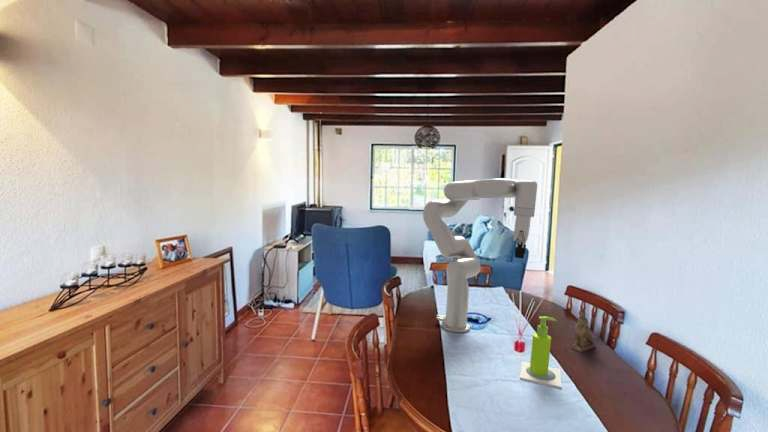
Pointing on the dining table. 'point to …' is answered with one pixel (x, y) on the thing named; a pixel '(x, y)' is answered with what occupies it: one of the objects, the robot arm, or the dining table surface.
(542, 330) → the soap dispenser
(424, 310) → the dining table surface
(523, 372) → the card
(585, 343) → the brown carved statuette
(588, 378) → the dining table surface
